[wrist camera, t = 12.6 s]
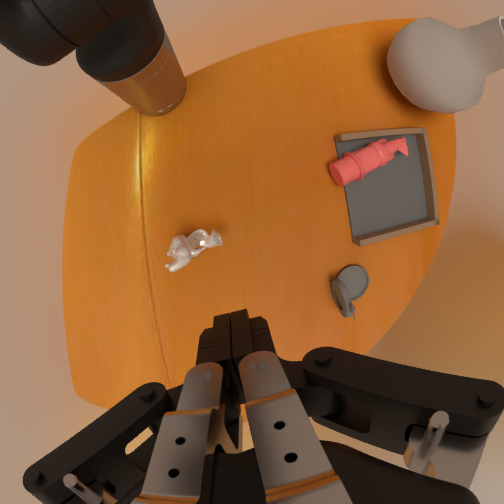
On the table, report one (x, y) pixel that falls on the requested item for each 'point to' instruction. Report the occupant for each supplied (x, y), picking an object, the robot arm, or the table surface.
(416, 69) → the vase
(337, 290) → the pocket watch
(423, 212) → the tray
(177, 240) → the figurine
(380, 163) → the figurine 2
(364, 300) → the table surface
